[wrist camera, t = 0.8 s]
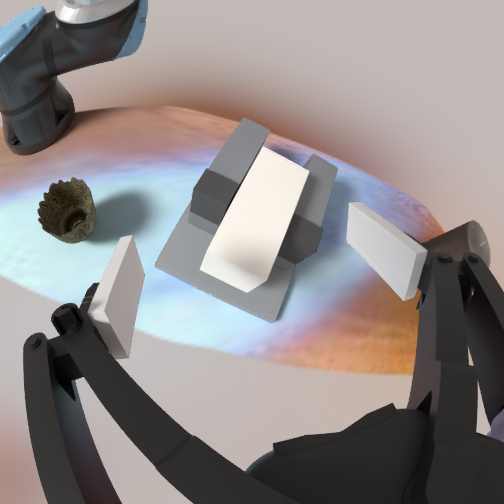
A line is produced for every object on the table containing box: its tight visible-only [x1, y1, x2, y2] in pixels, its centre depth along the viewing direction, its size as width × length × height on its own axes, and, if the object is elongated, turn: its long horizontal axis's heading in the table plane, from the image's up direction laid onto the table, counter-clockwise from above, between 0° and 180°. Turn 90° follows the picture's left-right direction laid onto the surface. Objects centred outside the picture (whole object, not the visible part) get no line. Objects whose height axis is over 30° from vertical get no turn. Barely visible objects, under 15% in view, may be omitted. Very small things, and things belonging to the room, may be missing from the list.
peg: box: [200, 146, 309, 293], centre depth 31 cm, size 14×6×7 cm, turn 157°
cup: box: [38, 177, 96, 244], centre depth 29 cm, size 8×7×8 cm
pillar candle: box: [422, 220, 490, 268], centre depth 42 cm, size 10×10×15 cm
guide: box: [155, 118, 338, 323], centre depth 35 cm, size 24×17×10 cm
